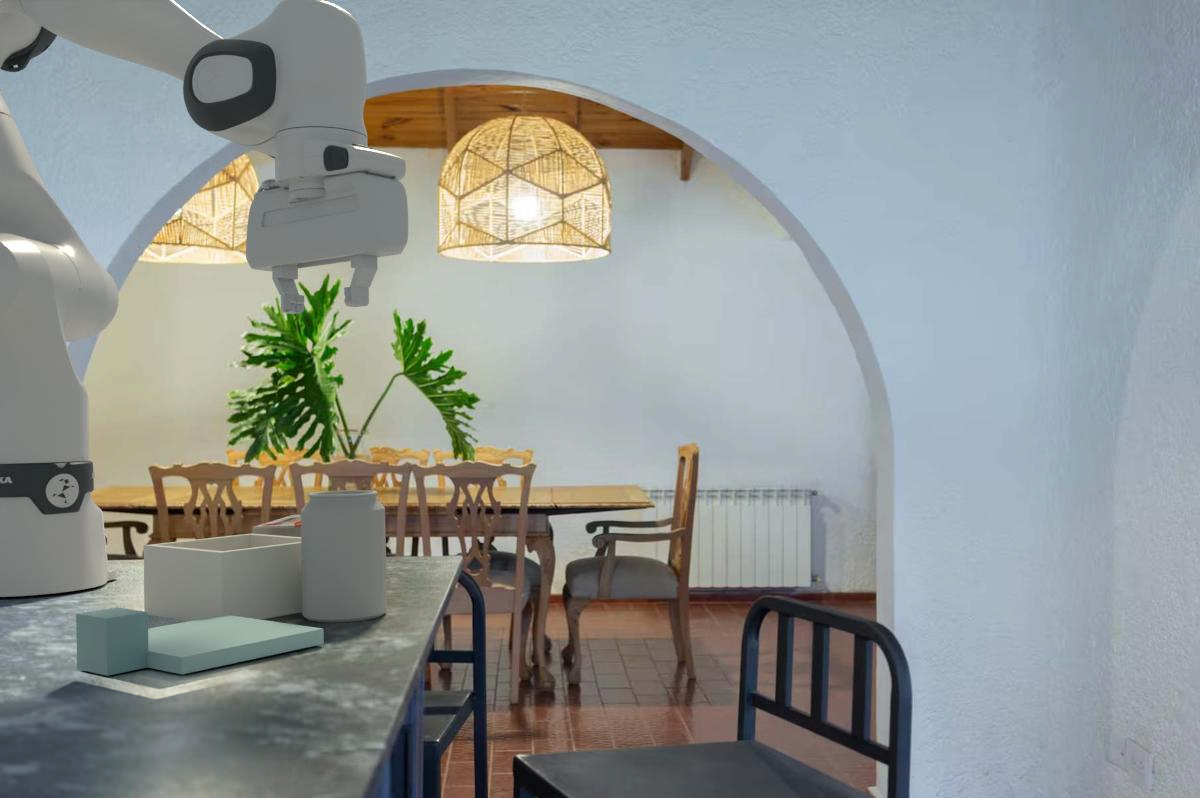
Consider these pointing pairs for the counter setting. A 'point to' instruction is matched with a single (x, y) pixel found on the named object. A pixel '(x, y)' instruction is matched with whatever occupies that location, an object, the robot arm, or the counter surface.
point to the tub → (224, 577)
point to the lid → (180, 641)
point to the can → (343, 556)
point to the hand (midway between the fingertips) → (324, 309)
